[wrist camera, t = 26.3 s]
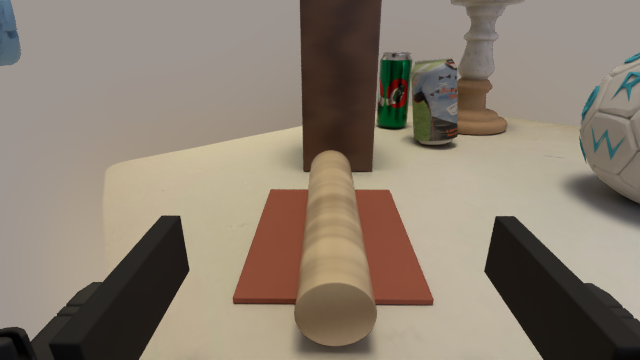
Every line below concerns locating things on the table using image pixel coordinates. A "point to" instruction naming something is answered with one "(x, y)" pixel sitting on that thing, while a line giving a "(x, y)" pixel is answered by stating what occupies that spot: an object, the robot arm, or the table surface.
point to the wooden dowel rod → (333, 259)
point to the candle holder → (479, 68)
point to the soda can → (394, 89)
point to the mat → (286, 244)
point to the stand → (339, 78)
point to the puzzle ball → (615, 129)
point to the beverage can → (435, 101)
